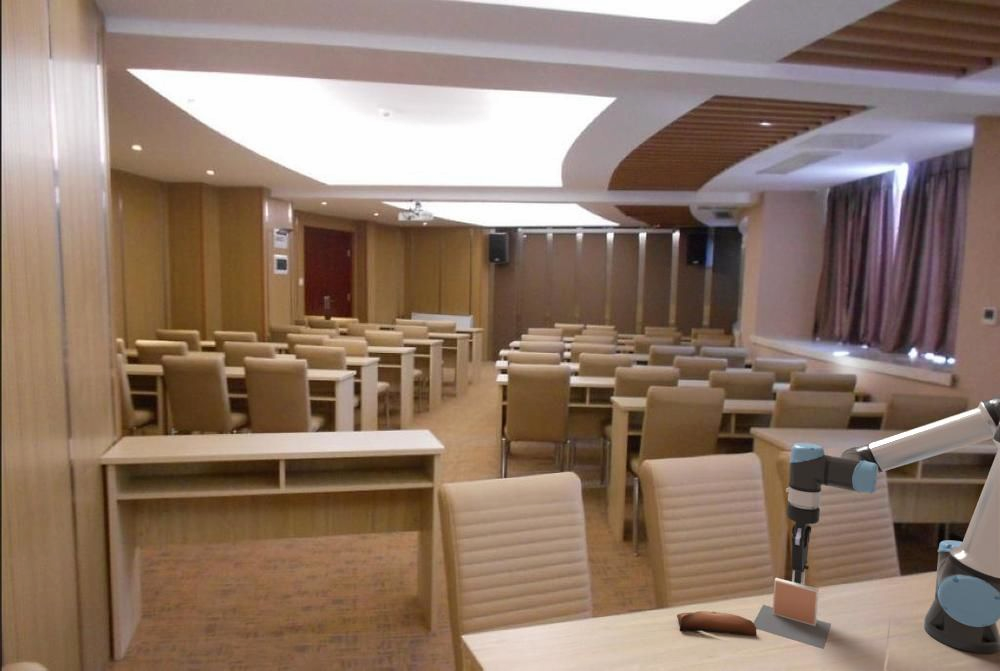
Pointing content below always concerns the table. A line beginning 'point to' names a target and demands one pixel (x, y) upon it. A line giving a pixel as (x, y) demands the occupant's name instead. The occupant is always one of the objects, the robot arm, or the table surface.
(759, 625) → the mat
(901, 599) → the table surface
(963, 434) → the robot arm
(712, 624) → the sunglasses case
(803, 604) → the tile
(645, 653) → the table surface
